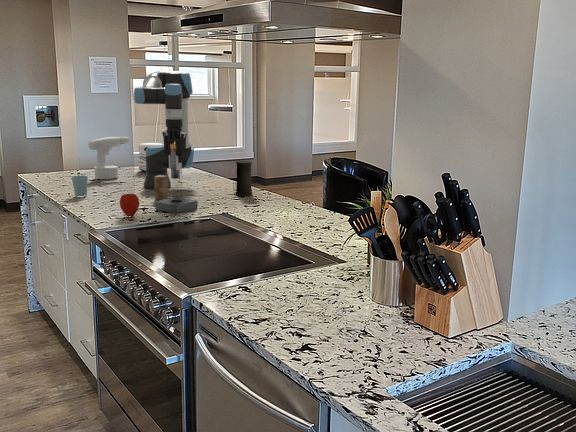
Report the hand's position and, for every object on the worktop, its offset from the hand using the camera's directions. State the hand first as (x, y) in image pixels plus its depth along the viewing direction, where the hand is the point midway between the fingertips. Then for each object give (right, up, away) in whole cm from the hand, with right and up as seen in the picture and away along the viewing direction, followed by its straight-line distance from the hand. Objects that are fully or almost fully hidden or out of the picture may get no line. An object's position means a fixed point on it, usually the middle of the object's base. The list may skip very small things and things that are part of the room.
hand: (175, 169), depth 266 cm
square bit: (-12, -13, +26) cm, 32 cm away
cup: (-55, -12, +29) cm, 63 cm away
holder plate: (0, -19, +5) cm, 19 cm away
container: (+29, -11, +41) cm, 51 cm away
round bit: (0, -4, +1) cm, 4 cm away
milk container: (-37, +7, +108) cm, 114 cm away
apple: (-18, -22, -11) cm, 31 cm away
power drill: (-56, +1, +82) cm, 99 cm away
